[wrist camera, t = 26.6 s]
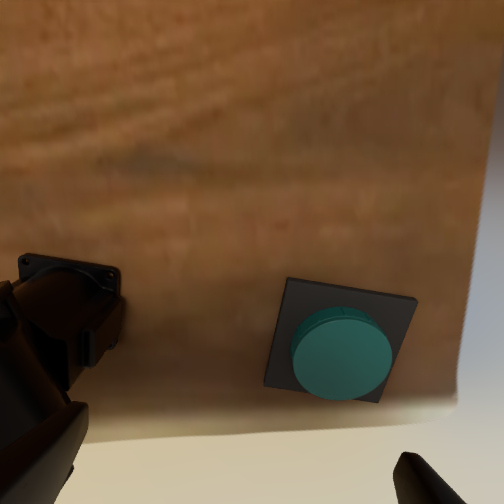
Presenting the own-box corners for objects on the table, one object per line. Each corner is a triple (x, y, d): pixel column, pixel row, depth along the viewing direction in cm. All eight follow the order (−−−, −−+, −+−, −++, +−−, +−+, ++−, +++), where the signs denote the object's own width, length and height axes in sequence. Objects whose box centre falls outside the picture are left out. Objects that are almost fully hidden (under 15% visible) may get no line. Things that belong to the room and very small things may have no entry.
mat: (263, 381, 24) (263, 386, 24) (287, 276, 21) (288, 280, 21) (375, 397, 25) (378, 403, 24) (414, 297, 22) (418, 301, 21)
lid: (330, 397, 24) (335, 415, 23) (271, 345, 23) (272, 361, 21) (401, 347, 22) (412, 363, 21) (342, 288, 21) (349, 300, 19)
